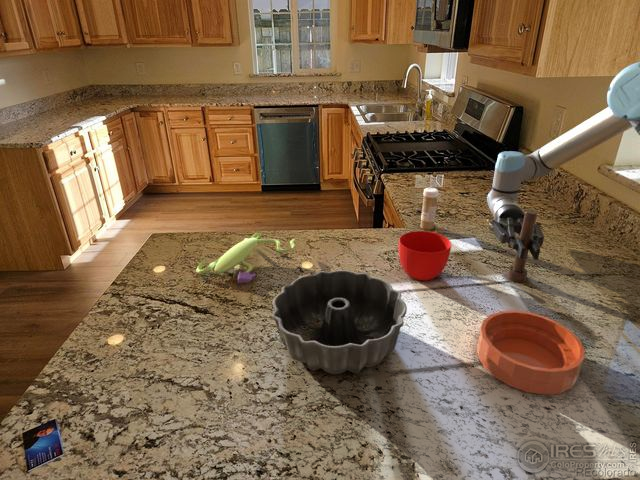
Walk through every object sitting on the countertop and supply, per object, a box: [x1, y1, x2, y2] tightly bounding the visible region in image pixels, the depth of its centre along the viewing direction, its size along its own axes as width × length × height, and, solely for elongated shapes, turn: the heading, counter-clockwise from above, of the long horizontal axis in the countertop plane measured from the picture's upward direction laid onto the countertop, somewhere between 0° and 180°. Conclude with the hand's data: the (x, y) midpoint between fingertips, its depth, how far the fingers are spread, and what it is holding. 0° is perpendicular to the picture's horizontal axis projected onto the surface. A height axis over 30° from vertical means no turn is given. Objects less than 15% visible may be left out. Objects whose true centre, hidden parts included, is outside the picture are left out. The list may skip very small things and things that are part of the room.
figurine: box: [195, 232, 297, 284], centre depth 117 cm, size 18×27×6 cm
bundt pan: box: [271, 269, 408, 375], centre depth 86 cm, size 26×26×10 cm
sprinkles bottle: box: [419, 187, 439, 231], centre depth 136 cm, size 5×5×13 cm
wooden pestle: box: [507, 209, 538, 283], centre depth 106 cm, size 4×4×19 cm
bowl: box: [476, 310, 586, 395], centre depth 81 cm, size 18×18×6 cm
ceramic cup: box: [398, 230, 452, 282], centre depth 112 cm, size 13×17×10 cm
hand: (529, 253), depth 100 cm, fingers closed on wooden pestle, 3 cm apart
